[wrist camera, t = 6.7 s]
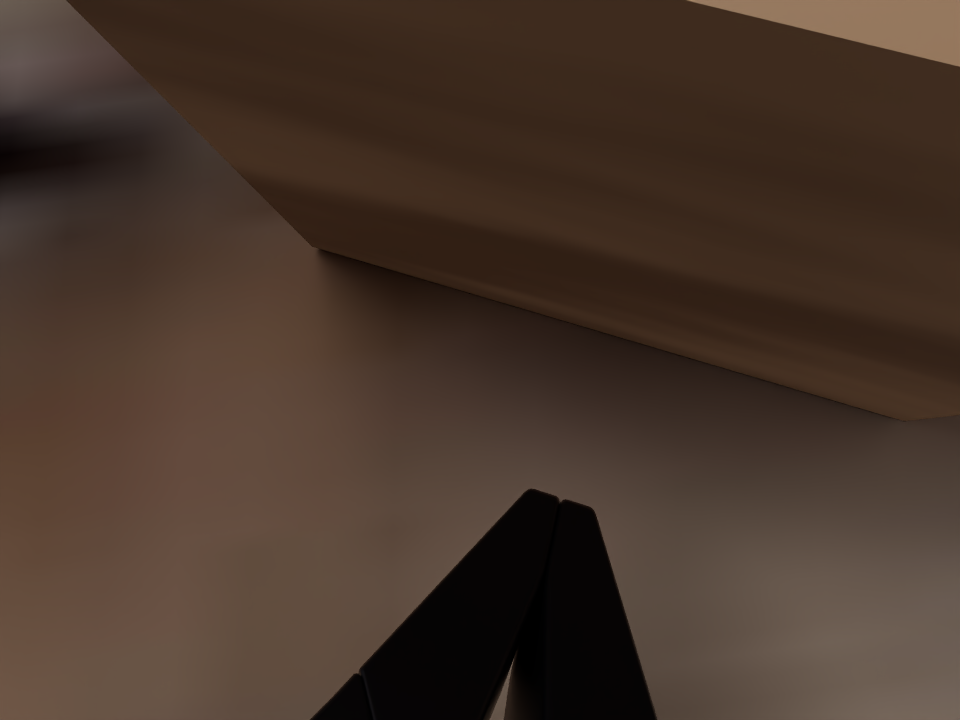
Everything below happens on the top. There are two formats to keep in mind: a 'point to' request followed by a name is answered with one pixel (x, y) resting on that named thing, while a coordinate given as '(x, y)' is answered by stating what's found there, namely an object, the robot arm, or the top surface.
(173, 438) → the top surface
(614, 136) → the walnut t block
